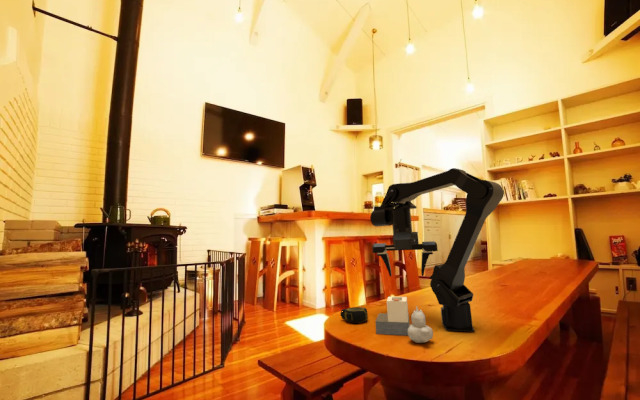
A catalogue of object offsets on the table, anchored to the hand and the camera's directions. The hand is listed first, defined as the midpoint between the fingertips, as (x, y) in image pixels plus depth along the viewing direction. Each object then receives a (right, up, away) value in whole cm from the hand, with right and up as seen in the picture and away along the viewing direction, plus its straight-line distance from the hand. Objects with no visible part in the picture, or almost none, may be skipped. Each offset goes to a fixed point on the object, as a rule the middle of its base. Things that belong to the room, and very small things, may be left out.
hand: (406, 276), depth 85 cm
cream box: (-6, -8, -13) cm, 16 cm away
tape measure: (-16, -13, -2) cm, 21 cm away
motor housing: (-7, -11, -12) cm, 17 cm away
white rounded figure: (-3, -10, -22) cm, 24 cm away
